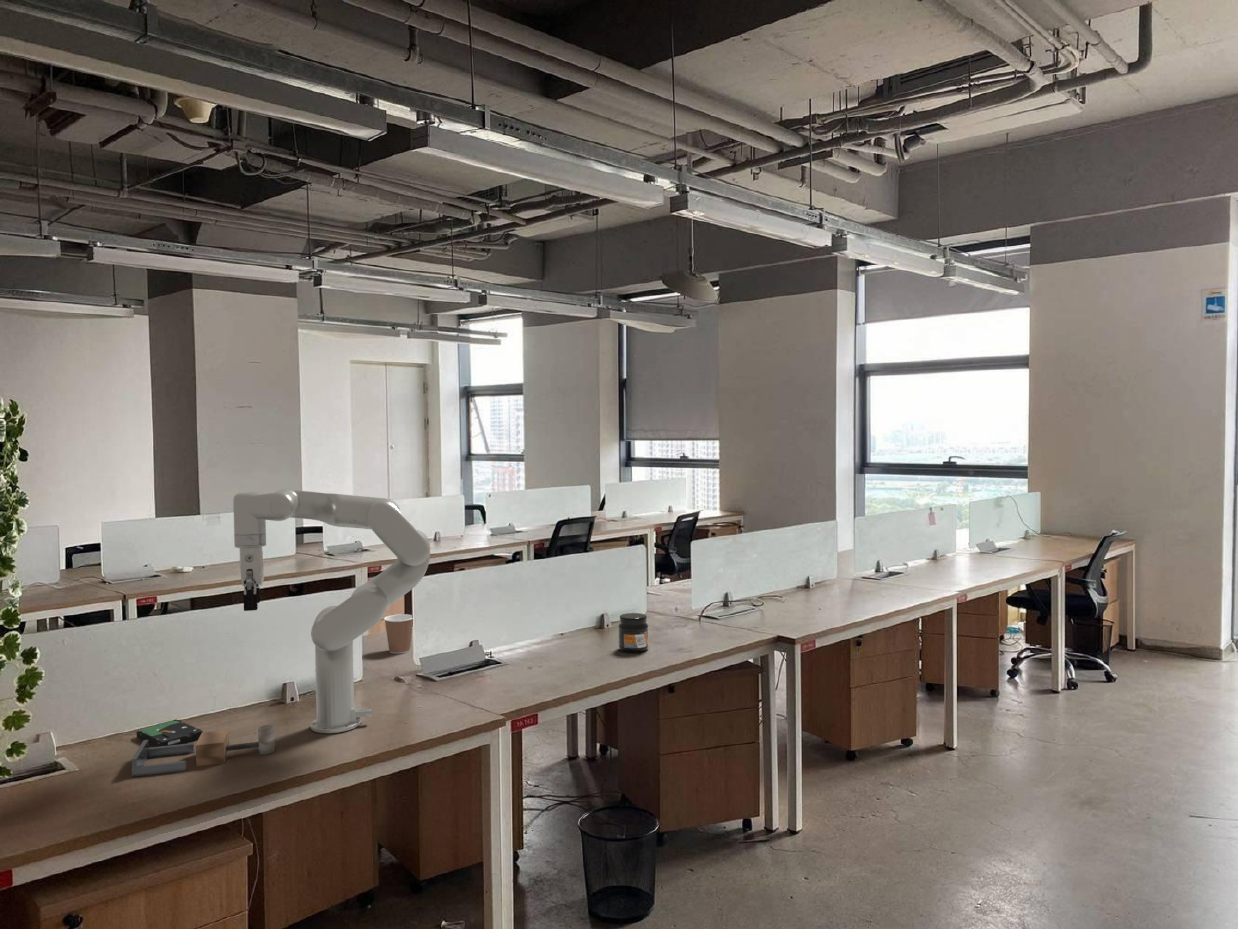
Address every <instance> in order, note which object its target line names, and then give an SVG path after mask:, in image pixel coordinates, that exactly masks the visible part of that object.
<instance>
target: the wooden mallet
mask: <svg viewBox="0 0 1238 929" xmlns="http://www.w3.org/2000/svg"><path fill="white" fill-rule="evenodd" d="M229 734H230V733H229V729H224V730H215V731H214V730H213V731H205V732H203V733H201V735H200V737H199V739H198V740H197V741H196V744H195V764H196V767H202V766H212V765H221V764H225V762H226V759H227V758H228V757H227V756H228V754H229V752H230V751H238V750H239V751H240V750H249V749H257V748H258V754H259V755H263V756H264V755H270V754H273V753H274V752H275V751H276V750H275V749H276V748H275V747H276V745H275V744H276V743H275V726H274V725H272V724H265V725H261V726H258V728H257V739H258V740H257V741H253V742H245V743H236V744H230V737H229V736H230V735H229Z"/></svg>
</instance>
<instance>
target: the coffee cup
mask: <svg viewBox="0 0 1238 929" xmlns="http://www.w3.org/2000/svg"><path fill="white" fill-rule="evenodd" d="M383 620H384V624H385V632H386V638H387V644H388V649H389V650H388V651H389V653H390V654H395V655H396V654H397V655H400V654H406V653H409V652H411V647H412V637H413V636H412V635H413V628H412V626H413V625H414V618H412V614H403V613H399V614H392V615H387V616H385V617H384V618H383ZM413 627H414V626H413Z"/></svg>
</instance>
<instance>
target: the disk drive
mask: <svg viewBox="0 0 1238 929" xmlns="http://www.w3.org/2000/svg"><path fill="white" fill-rule="evenodd" d="M201 733H204V732H203V730H202V729H200V728H197V727H195V726H193V725H190V724H188V723H185V722H183V721H181V720H179V719H172V720H168V721H163V722H159V723H155V724H154V725H150V726H147V727H144V728H138V729H137V731H136V738H137V739H138V740H140V741H142V742H143V741H144V740H148V743H149V746H150V745H151V747H152V746H153V747H161V746H171V745H180V744H186V743H187V744H189V743H195V742H197V741H198V739H199V737H200V735H201Z"/></svg>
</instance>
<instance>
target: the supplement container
mask: <svg viewBox="0 0 1238 929" xmlns="http://www.w3.org/2000/svg"><path fill="white" fill-rule="evenodd" d="M647 622H648V616H647V614H644V613H640V612H627V613H622V614H620V615H619V623H618V625H617V626H618V627H617V628H618V649H619V650H620V651H621V652H625V653H629V654H630V653H631V654H636V653H637V654H638V653H643V652H646V651H647V650H648V648H649V624H648V623H647Z"/></svg>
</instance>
